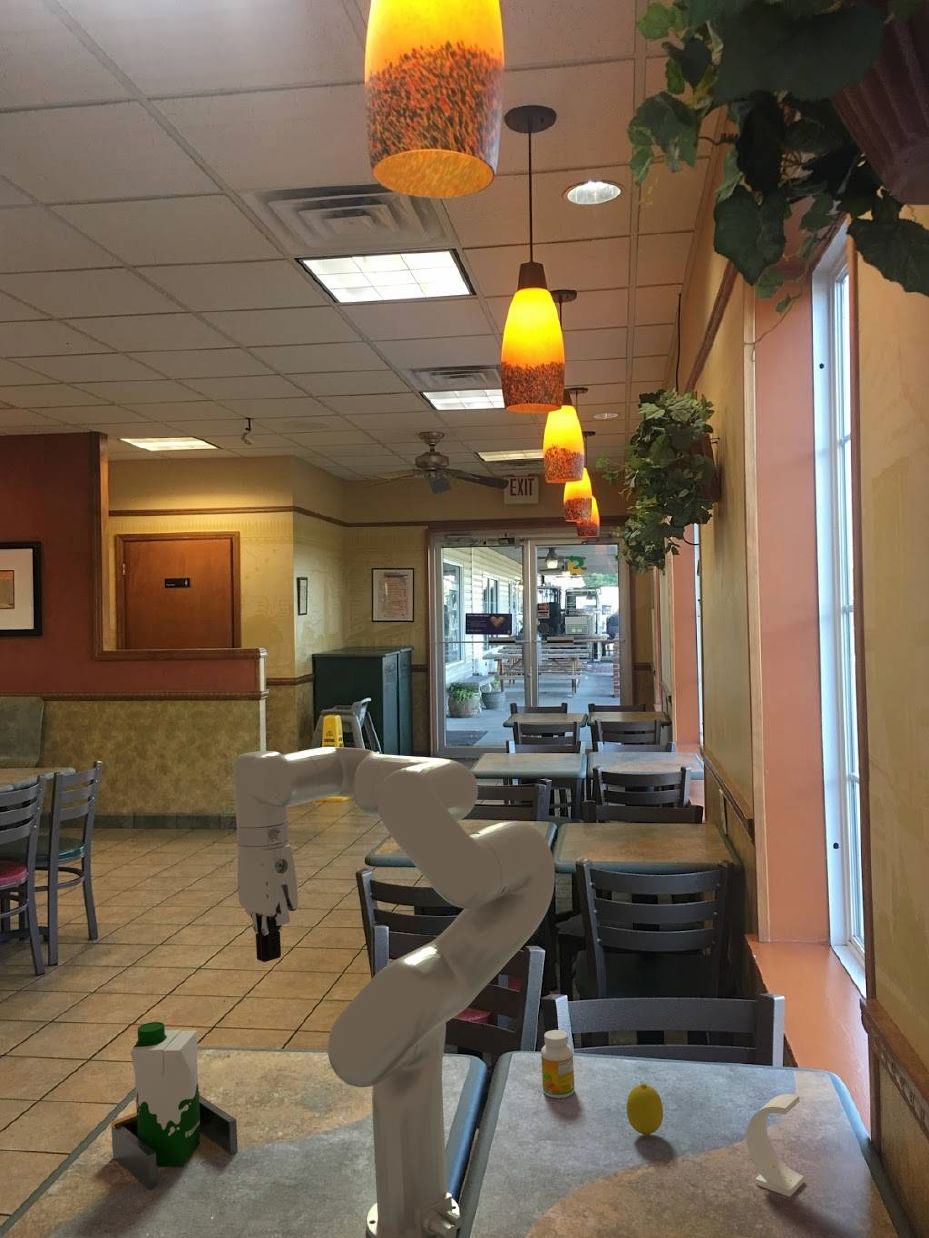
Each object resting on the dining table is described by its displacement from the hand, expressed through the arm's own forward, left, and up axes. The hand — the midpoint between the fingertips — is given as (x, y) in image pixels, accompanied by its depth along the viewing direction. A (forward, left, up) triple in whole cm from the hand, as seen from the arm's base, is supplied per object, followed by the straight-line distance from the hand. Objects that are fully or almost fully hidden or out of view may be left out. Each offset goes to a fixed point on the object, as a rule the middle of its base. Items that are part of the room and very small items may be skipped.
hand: (269, 958), depth 147 cm
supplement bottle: (-13, -47, -32) cm, 58 cm away
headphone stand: (-54, -47, -32) cm, 79 cm away
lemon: (-33, -45, -32) cm, 64 cm away
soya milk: (+18, +9, -32) cm, 38 cm away
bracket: (+17, +8, -32) cm, 37 cm away
